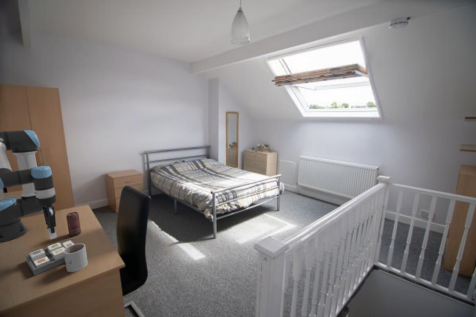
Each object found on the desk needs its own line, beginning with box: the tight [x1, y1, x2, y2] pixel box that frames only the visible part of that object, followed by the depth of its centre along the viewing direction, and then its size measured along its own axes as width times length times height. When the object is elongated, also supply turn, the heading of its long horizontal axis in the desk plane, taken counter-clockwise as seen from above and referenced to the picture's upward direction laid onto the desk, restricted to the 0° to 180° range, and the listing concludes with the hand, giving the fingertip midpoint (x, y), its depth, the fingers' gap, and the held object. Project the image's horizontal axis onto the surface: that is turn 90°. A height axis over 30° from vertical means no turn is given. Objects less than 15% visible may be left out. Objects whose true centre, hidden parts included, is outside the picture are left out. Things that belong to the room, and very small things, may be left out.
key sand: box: [52, 247, 65, 260], centre depth 114 cm, size 5×5×3 cm
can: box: [65, 211, 82, 237], centre depth 137 cm, size 6×6×14 cm
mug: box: [64, 243, 89, 273], centre depth 110 cm, size 12×9×10 cm
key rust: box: [34, 256, 50, 268], centre depth 109 cm, size 5×5×3 cm
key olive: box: [47, 242, 62, 255], centre depth 118 cm, size 5×5×3 cm
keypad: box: [24, 238, 77, 277], centre depth 116 cm, size 17×20×3 cm
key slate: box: [28, 248, 46, 262], centre depth 113 cm, size 5×5×3 cm
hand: (53, 237), depth 117 cm, fingers closed
